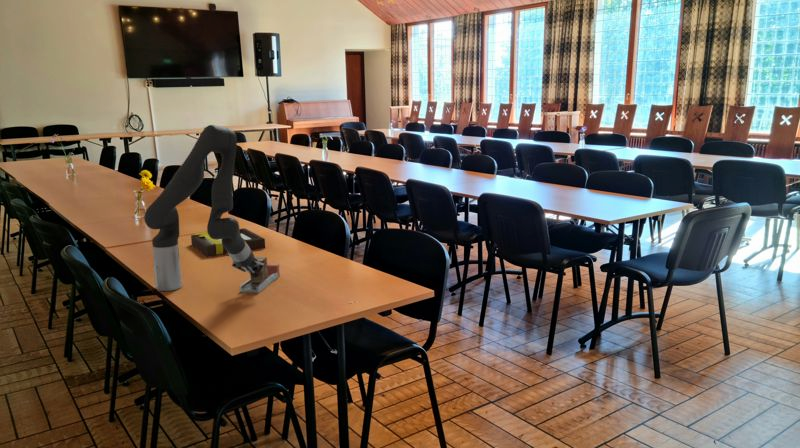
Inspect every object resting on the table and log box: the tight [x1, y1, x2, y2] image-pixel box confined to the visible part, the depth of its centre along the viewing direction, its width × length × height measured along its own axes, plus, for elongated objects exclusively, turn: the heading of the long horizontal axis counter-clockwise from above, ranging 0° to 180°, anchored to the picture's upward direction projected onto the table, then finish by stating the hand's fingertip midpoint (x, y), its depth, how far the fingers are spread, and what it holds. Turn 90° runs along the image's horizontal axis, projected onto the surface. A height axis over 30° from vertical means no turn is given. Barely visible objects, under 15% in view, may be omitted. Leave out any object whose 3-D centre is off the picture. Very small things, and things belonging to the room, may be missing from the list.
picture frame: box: [190, 228, 266, 258], centre depth 299 cm, size 28×7×30 cm
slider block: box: [249, 256, 268, 283], centre depth 238 cm, size 5×5×9 cm
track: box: [239, 263, 281, 294], centre depth 239 cm, size 22×8×5 cm, turn 170°
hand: (255, 274), depth 235 cm, fingers closed
